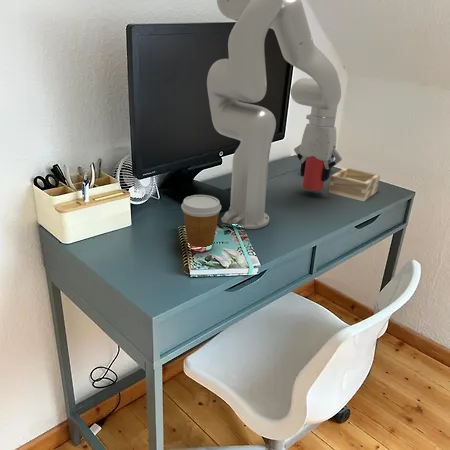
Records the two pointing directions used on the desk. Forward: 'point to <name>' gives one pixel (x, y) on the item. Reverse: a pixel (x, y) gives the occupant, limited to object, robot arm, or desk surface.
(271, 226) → the desk surface
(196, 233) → the disposable coffee cup
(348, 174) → the wooden box
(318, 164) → the beer can
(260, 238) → the desk surface
